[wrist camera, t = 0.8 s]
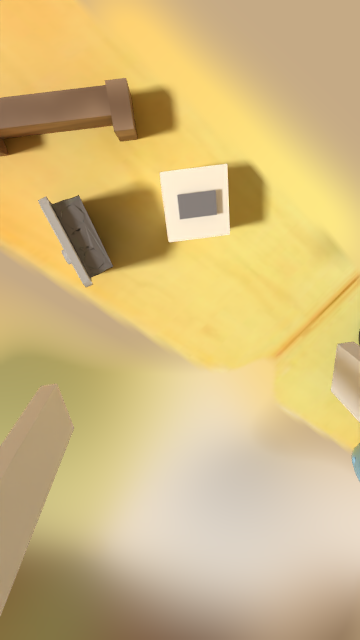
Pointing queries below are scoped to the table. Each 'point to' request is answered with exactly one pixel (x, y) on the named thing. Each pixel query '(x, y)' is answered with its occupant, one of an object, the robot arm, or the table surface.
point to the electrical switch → (77, 237)
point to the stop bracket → (69, 112)
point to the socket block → (196, 202)
